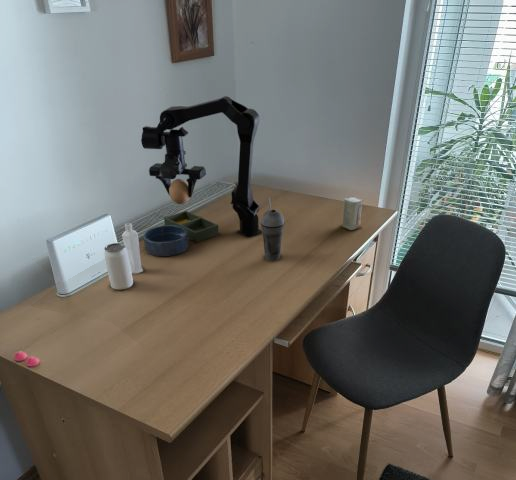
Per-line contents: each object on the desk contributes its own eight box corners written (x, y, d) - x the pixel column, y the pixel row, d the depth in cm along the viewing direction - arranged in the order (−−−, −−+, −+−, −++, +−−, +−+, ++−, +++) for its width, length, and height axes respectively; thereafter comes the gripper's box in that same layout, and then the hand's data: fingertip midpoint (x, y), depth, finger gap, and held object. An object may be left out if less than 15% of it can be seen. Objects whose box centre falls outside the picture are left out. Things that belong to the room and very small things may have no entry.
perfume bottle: (147, 268, 154) (139, 222, 145) (138, 274, 151) (130, 228, 142) (135, 266, 156) (126, 220, 147) (126, 272, 152) (117, 225, 144)
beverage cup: (284, 262, 156) (285, 200, 144) (261, 262, 156) (260, 200, 144) (283, 252, 162) (284, 191, 150) (261, 252, 162) (260, 192, 150)
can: (137, 281, 147) (130, 244, 140) (126, 291, 142) (118, 253, 135) (118, 278, 149) (111, 241, 142) (106, 288, 144) (98, 250, 137)
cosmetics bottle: (360, 227, 177) (363, 200, 171) (351, 230, 175) (353, 202, 169) (350, 223, 180) (352, 196, 175) (341, 226, 179) (343, 198, 173)
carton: (218, 234, 174) (218, 224, 172) (196, 242, 169) (195, 232, 167) (186, 219, 186) (186, 210, 184) (165, 226, 181) (163, 217, 178)
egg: (182, 208, 170) (179, 183, 165) (166, 205, 174) (163, 180, 169) (195, 202, 175) (193, 177, 170) (179, 198, 179) (176, 174, 174)
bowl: (197, 247, 166) (195, 233, 163) (161, 261, 158) (159, 246, 155) (172, 235, 174) (170, 221, 171) (137, 247, 166) (135, 233, 164)
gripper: (137, 154, 160) (145, 202, 169) (191, 158, 155) (195, 206, 164) (153, 145, 169) (159, 191, 178) (204, 148, 164) (208, 195, 173)
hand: (180, 196), depth 173 cm, fingers closed on egg, 7 cm apart
